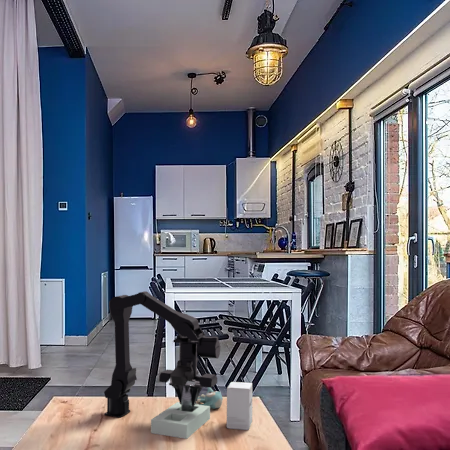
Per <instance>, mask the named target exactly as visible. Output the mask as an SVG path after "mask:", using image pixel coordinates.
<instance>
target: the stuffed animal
mask: <svg viewBox="0 0 450 450" xmlns="http://www.w3.org/2000/svg"><path fill="white" fill-rule="evenodd" d="M206 388H207V390H206V391H207V392H205V394H204V393H202V394H201V393H200V394H201V395H199V396H198V399H197V401H196V405H204V406H210V409H219V408H220V407H221V406H222V405H223V399H224V398H223V395H222V392H221V391H217V390H213V389H212V387H206Z"/></svg>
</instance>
